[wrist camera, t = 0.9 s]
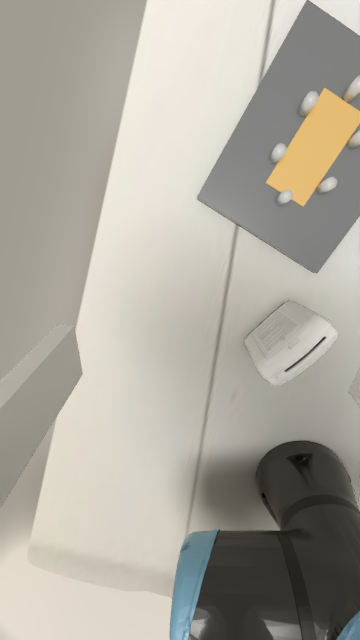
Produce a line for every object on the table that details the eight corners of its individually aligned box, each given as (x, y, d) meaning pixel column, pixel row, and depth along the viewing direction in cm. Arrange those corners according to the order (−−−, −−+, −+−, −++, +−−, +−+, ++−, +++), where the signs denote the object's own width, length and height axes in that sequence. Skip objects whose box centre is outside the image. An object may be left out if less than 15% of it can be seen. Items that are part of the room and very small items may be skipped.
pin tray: (438, 103, 31) (469, 82, 27) (313, 272, 37) (325, 274, 33) (303, 9, 30) (317, -25, 26) (197, 199, 36) (196, 192, 32)
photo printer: (257, 359, 40) (280, 401, 28) (238, 341, 40) (254, 376, 28) (308, 315, 38) (357, 340, 26) (289, 295, 38) (329, 312, 26)
